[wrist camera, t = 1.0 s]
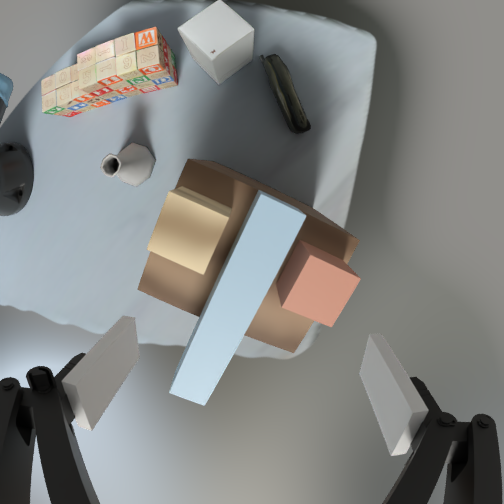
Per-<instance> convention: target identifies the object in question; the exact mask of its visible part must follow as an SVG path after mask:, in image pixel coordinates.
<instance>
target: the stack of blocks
mask: <svg viewBox="0 0 504 504" xmlns="http://www.w3.org/2000/svg"><path fill="white" fill-rule="evenodd" d="M177 85H178V81H177V73H176V66H175V56H174V53H173V52H172V50H171V49H170V47H169V46H168V44H167V43H166V40H165V39H164V37H163V36H162V35H161V33H160V32H159V30H158V29H157V27H152V28H149V29H146V30H142V31H139V32H136V33H130V34H127V35H124V36H121V37H119V38H116V39H114V40H110V41H107V42H105V43H102V44H100V45H97V46H96V47H93V48H91V49H88V50H86V51H84V52H81V53H79V54H77V64H75V65H72V66H69V67H67V68H65V69H63V70H60V71H58V72H56V73H55V74H53V75H51V76H49V77H47V78H45V79H43V80H42V81H41V86H42V109H43V113H46V114H52V115H53V114H55V115H60V116H66V117H72V116H74V115H77V114H79V113H82V112H86V111H89V110H91V109H94V108H97V107H100V106H103V105H107V104H110V103H112V102H115V101H118V100H121V99H125V98H127V97H131V96H135V95H138V94H142V93H147V92H151V91H155V90H159V89H164V88H169V87H173V86H177Z"/></svg>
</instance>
